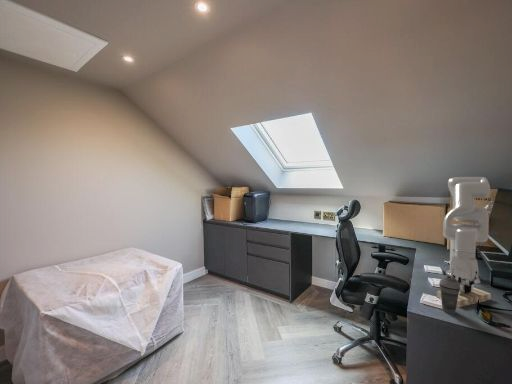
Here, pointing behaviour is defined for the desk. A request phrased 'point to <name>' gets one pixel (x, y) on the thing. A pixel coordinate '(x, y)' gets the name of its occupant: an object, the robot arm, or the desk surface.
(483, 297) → the slatted wooden pallet
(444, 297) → the beverage cup
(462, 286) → the clip
